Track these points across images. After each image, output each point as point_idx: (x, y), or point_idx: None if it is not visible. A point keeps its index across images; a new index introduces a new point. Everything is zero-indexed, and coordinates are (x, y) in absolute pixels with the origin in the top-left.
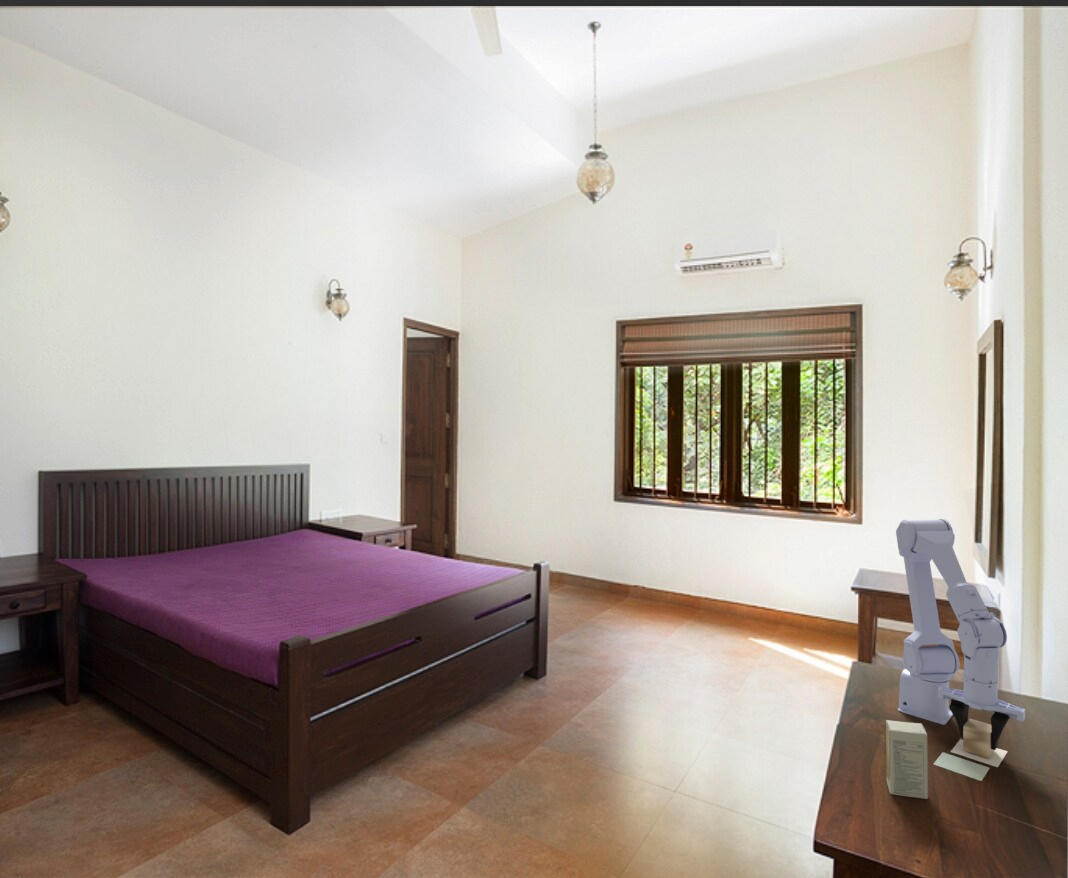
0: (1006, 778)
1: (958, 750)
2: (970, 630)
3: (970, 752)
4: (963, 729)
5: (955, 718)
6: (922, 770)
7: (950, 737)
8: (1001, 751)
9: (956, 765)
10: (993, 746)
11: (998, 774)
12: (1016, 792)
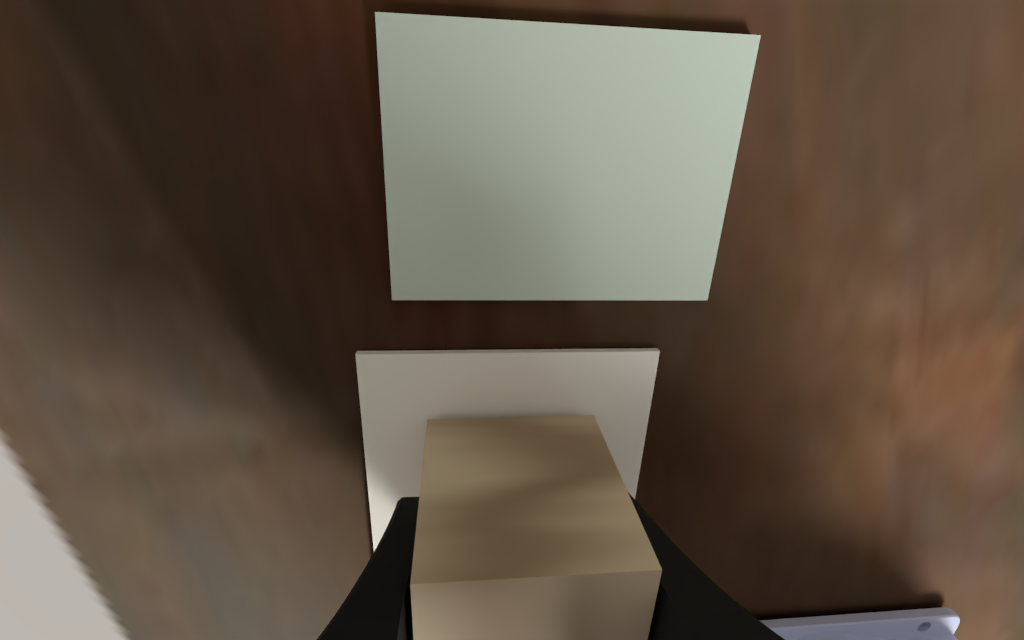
0: (260, 244)
1: (616, 402)
2: None
3: None
4: (647, 540)
5: (765, 626)
6: None
7: (677, 530)
8: None
9: (596, 156)
10: (404, 514)
11: (324, 265)
12: (107, 47)
